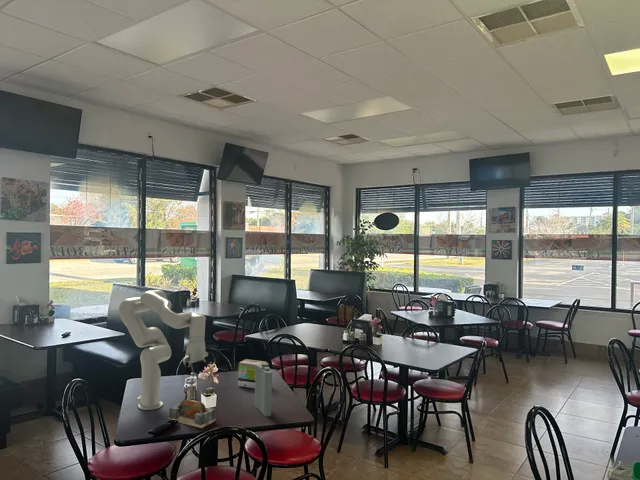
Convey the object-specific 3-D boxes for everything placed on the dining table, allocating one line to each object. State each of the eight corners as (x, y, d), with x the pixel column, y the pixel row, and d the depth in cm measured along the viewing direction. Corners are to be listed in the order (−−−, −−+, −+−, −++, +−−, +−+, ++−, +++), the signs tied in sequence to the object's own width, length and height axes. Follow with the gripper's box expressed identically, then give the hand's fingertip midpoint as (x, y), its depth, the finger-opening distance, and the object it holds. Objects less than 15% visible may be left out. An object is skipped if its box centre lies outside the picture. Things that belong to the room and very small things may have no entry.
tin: (178, 415, 236) (179, 398, 236) (183, 413, 239) (183, 397, 239) (202, 421, 229) (202, 404, 229) (206, 419, 232) (207, 402, 232)
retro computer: (237, 386, 289) (238, 362, 289) (244, 382, 298) (245, 358, 298) (260, 389, 284) (260, 364, 284) (266, 384, 294) (267, 361, 294)
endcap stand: (201, 428, 224) (201, 416, 224) (168, 419, 234) (168, 408, 234) (215, 420, 234) (215, 409, 234) (183, 412, 243) (183, 401, 243)
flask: (273, 415, 243) (274, 367, 243) (265, 416, 241) (266, 367, 241) (261, 404, 258) (263, 358, 258) (253, 405, 256) (255, 359, 256)
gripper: (203, 334, 250) (201, 367, 250) (178, 340, 235) (176, 374, 235) (213, 337, 246) (212, 369, 247) (190, 342, 231) (188, 377, 231)
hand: (194, 372), depth 241 cm, fingers open, 9 cm apart
